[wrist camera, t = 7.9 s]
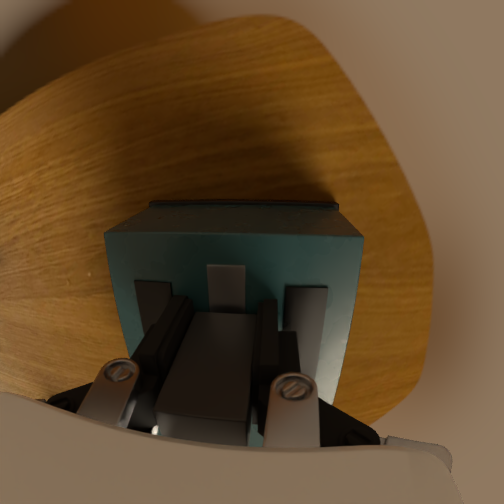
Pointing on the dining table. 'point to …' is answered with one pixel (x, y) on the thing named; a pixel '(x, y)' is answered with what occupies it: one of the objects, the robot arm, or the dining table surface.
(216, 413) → the slider
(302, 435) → the robot arm
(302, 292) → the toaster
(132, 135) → the dining table surface
